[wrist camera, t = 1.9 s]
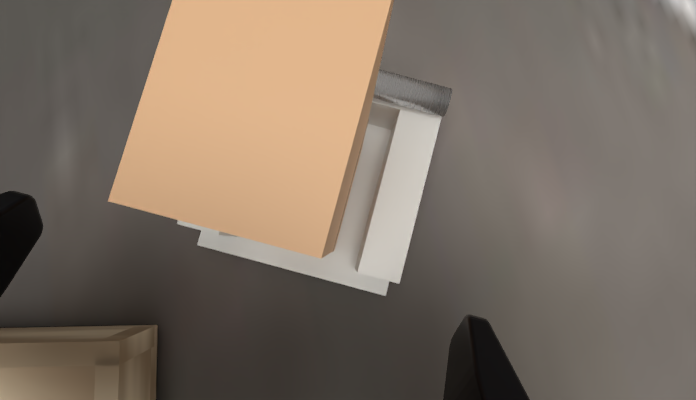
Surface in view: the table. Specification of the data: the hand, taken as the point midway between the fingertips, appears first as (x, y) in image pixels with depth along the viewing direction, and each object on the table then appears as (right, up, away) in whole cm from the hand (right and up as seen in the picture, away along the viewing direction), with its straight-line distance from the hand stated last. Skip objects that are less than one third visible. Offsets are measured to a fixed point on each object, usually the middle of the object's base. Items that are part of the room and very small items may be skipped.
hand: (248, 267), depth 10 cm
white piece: (+1, +2, +10) cm, 11 cm away
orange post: (+1, +2, +10) cm, 10 cm away
